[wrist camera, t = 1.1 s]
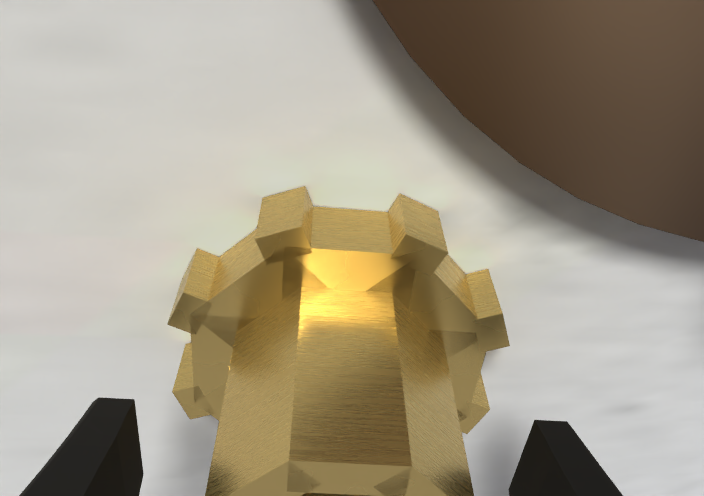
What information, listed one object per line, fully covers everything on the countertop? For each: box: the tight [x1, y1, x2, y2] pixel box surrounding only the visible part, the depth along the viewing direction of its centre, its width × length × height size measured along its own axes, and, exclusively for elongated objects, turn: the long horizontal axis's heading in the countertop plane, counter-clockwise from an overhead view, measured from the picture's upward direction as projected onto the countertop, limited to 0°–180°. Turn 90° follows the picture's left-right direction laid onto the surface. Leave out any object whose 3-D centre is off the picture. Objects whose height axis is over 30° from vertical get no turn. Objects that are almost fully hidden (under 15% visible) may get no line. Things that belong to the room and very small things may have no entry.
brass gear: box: [167, 186, 510, 496], centre depth 13 cm, size 7×7×6 cm
